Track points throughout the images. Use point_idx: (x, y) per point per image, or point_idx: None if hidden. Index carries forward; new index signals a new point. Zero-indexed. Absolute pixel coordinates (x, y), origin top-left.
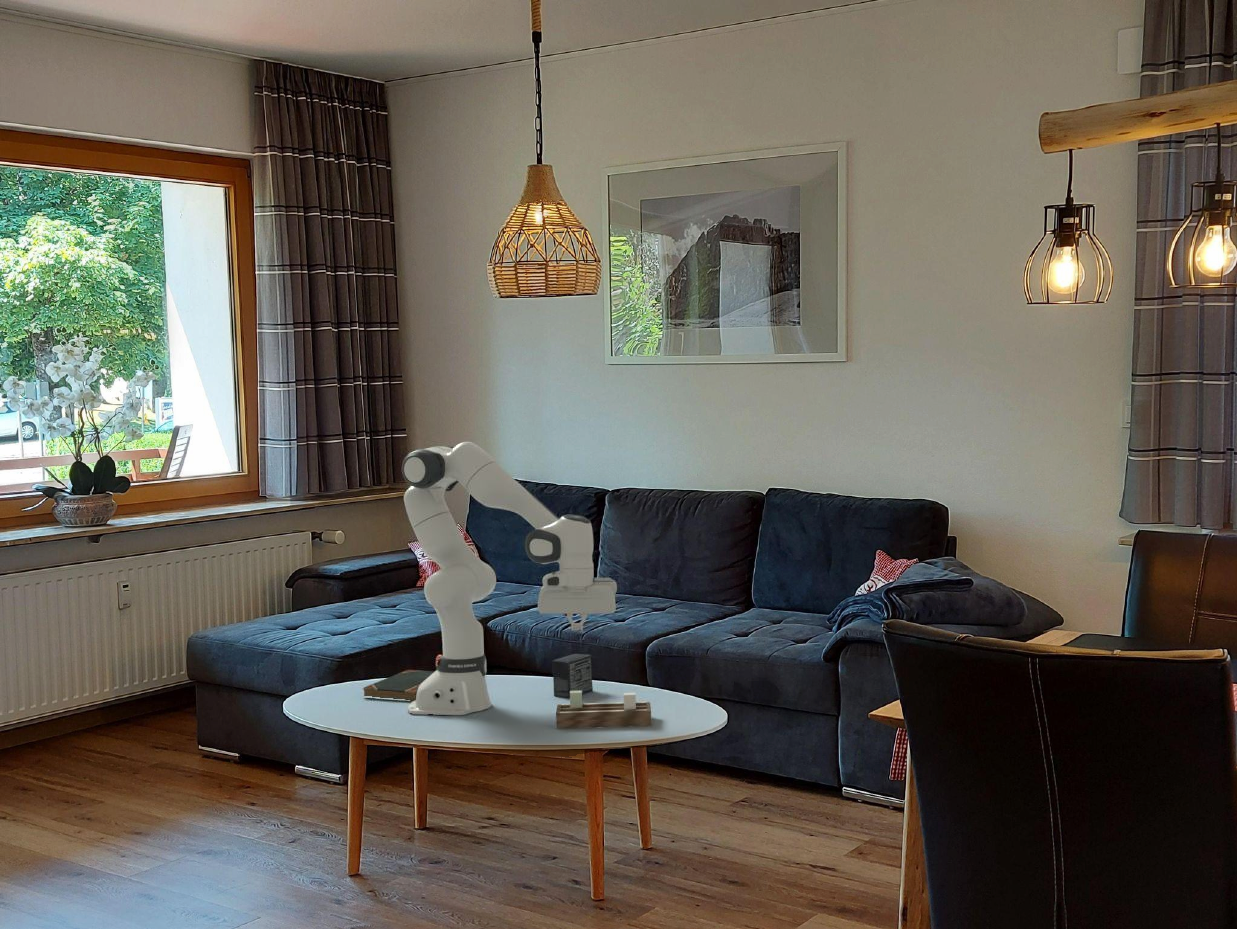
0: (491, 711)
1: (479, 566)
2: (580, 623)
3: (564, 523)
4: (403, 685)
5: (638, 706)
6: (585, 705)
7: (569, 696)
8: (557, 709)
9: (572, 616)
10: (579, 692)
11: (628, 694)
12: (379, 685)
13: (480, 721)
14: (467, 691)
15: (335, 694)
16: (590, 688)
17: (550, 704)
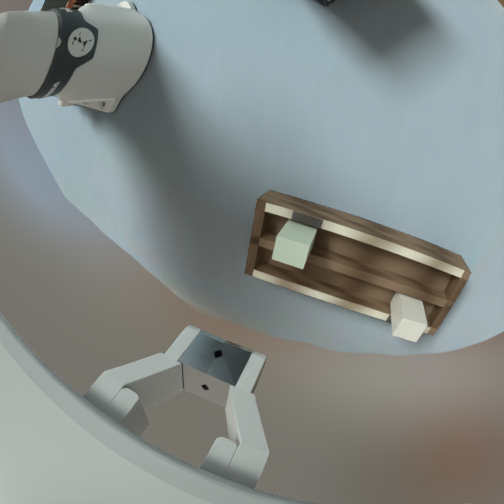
0: (150, 85)
1: None
2: (226, 415)
3: None
4: (59, 3)
5: (431, 298)
6: (325, 229)
7: (322, 2)
8: (251, 245)
9: (143, 413)
10: (298, 264)
11: (404, 334)
12: (45, 10)
13: (135, 155)
14: (88, 99)
15: None
16: None
17: (269, 42)
